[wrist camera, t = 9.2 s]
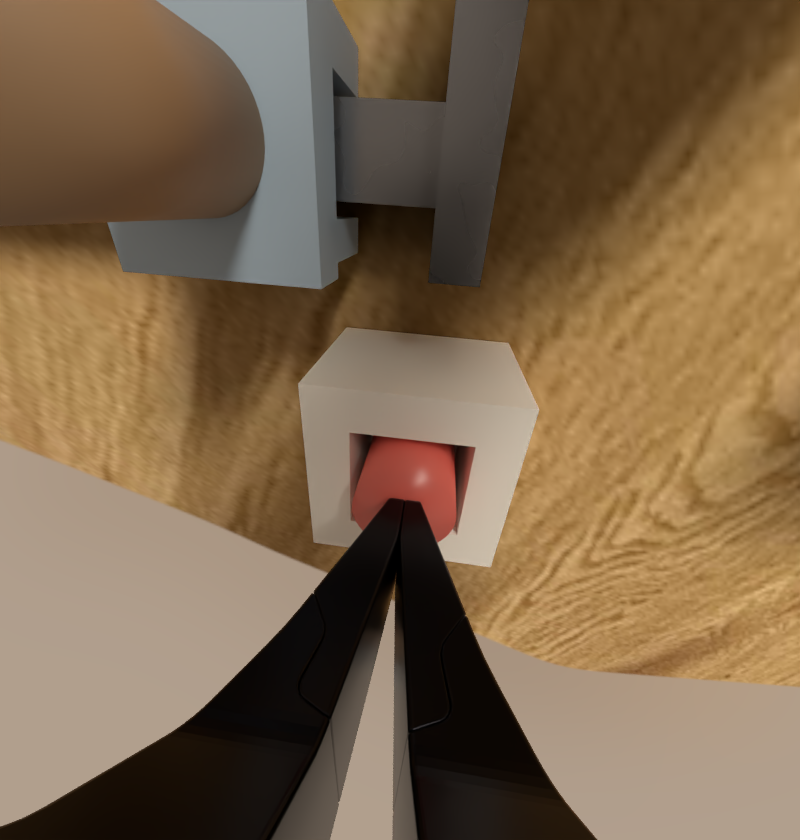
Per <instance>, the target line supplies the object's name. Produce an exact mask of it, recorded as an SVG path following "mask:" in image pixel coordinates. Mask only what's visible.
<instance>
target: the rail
mask: <svg viewBox="0 0 800 840" xmlns="http://www.w3.org/2000/svg"><path fill="white" fill-rule="evenodd" d="M528 2H529V0H456V5H455V15H454V25H453V36H452V46H451V56H450V66H449V76H448V87H447V97H446V102H435V101H416V100H396V99H377V98H358V97H339V96H333V106H334V142H335V178H336V201H341V202H355V203H368V204H382V205H396V206H410V207H424V208H436V209H435V219H434V229H433V239H432V250H431V260H430V270H429V280H428V283H437V284H449V285H460V286H472V287H480V282H481V277H482V271H483V265H484V259H485V253H486V247H487V242H488V236H489V230H490V224H491V218H492V212H493V207H494V201H495V195H496V189H497V183H498V177H499V172H500V166H501V160H502V154H503V148H504V142H505V137H506V131H507V125H508V119H509V113H510V107H511V102H512V96H513V90H514V84H515V78H516V72H517V67H518V61H519V55H520V49H521V43H522V37H523V32H524V26H525V20H526V14H527V8H528Z"/></svg>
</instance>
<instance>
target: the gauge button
mask: <svg viewBox="0 0 800 840" xmlns="http://www.w3.org/2000/svg"><path fill="white" fill-rule="evenodd" d="M389 498H398V499H403V500H404V501H406V500H414V501H420V502H421V504H422V506H423V508H424V511H425V513H426V516H427V518H428V521H429V523H430V526H431V528H432V531H433V533H434V536H435V538H436V541H437V543H438V542H440V541H441V540H443V539H444V538H445V537H446V536H447V535H448V534H449V533H450V532H451V531H452V529H453V527H454V525H455V522H456V484H455V449H454V445H452V444H444V443H435V442H427V441H418V440H410V439H401V438H393V437H384V436H376V435H374V436H373V439H372V442H371V445H370V448H369V451H368V454H367V457H366V460H365V463H364V467H363V470H362V473H361V476H360V479H359V482H358V485H357V488H356V491H355V494H354V497H353V501H352V512H353V516H354V518H355V521H356V522H357V524H358V525H359V527H360V528H361V529H362V530H364V529H365V527H366V526H367V525H368V524H369V522H370V521H371V520H372V519H373V517H374V516H375V515H376V514H377V512H378V511H379V510H380V509H381V508H382V506H383V505H384V504H385V503H386V501H387V500H388V499H389Z"/></svg>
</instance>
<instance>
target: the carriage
mask: <svg viewBox="0 0 800 840" xmlns="http://www.w3.org/2000/svg"><path fill="white" fill-rule="evenodd" d="M333 96H339V97H358V46H357V44H356V43H355V41H354V39H353V37H352V35H351V33H350V32H349V30H348V28H347V26H346V24H345V23H344V21H343V19H342V17H341V15H340V14H339V12H338V10H337V8H336V6H335V4H334V3H333V1H332V0H0V226H23V225H50V224H76V223H103V222H107V223H108V226H109V229H110V232H111V235H112V238H113V242H114V245H115V248H116V251H117V254H118V257H119V260H120V263H121V266H122V269H123V271H124V272H135V273H146V274H157V275H168V276H179V277H191V278H202V279H213V280H224V281H235V282H246V283H257V284H268V285H280V286H291V287H302V288H313V289H323V288H324V287H326V286H327V285H329V284H331V283H332V282H334V281H335V280H337V279H338V262H340V261H342V260H345V259H347V258H349V257H351V256H353V255H355V254H357V253H358V218H355V217H342V216H337V214H336V178H335V142H334V106H333Z"/></svg>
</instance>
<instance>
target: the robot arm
mask: <svg viewBox="0 0 800 840" xmlns="http://www.w3.org/2000/svg"><path fill="white" fill-rule="evenodd" d="M395 579H396V584H395ZM394 585H395V654H394V655H395V656H394V657H395V658H394V755H393V756H394V757H393V758H394V759H393V763H394V764H393V840H597V839H596V838H595V837H594V835H593V834H592V833H591V832H590V831H589V829H588V828H587V827H586V826H585V825H584V823H583V822H582V821H581V820H580V819H579V817H578V816H577V815H576V814H575V813H574V812H573V810H572V809H571V808H570V807H569V805H568V804H567V803H566V802H565V800H564V799H563V798H562V796H561V795H560V794H559V792H558V791H557V789H556V788H555V786H554V785H553V783H552V782H551V780H550V779H549V777H548V775H547V774H546V772H545V771H544V769H543V767H542V765H541V764H540V762H539V760H538V758H537V757H536V755H535V753H534V751H533V749H532V747H531V745H530V743H529V742H528V740H527V738H526V736H525V734H524V732H523V730H522V728H521V727H520V725H519V723H518V721H517V719H516V717H515V715H514V714H513V712H512V710H511V708H510V706H509V704H508V702H507V701H506V699H505V697H504V695H503V693H502V691H501V689H500V687H499V685H498V684H497V682H496V680H495V678H494V676H493V674H492V672H491V670H490V668H489V666H488V664H487V662H486V660H485V658H484V655H483V653H482V651H481V649H480V646H479V644H478V642H477V639H476V637H475V635H474V632H473V630H472V627H471V625H470V623H469V620H468V618H467V617H466V616H465V615H466V613H465V611H464V608H463V606H462V603H461V601H460V598H459V596H458V593H457V591H456V588H455V586H454V583H453V581H452V578H451V576H450V573H449V571H448V568H447V566H446V563H445V561H444V558H443V556H442V553H441V551H440V548H439V546H438V543H437V541H436V538H435V536H434V533H433V531H432V528H431V526H430V523H429V521H428V518H427V516H426V513H425V511H424V508H423V506H422V504H421V502H420V501H414V500H406V501H404V500H403V499H398V498H389V499H388V500H387V501H386V503H385V504H384V505H383V506H382V508H381V509H380V510H379V511H378V512H377V514H376V515H375V516H374V517H373V519H372V520H371V521H370V522H369V524H368V525H367V526H366V527H365V529H364V530H363V531H362V532H361V533H360V535H359V536H358V537H357V538H356V540H355V541H354V542H353V543H352V545H351V546H350V547H349V548H348V550H347V551H346V552H345V553H344V554H343V556H342V557H341V558H340V559H339V561H338V562H337V563H336V564H335V566H334V567H333V568H332V569H331V571H330V572H329V573H328V574H327V575H326V577H325V578H324V579H323V580H322V582H321V583H320V584H319V585H318V587H317V588H316V589H315V590H314V594H311V595H310V596H309V598H308V599H307V600H306V601H305V602H304V604H303V605H302V606H301V608H300V609H299V610H298V611H297V612H296V613H295V614H294V615H293V617H292V618H291V619H290V620H289V621H288V623H287V624H286V625H285V626H284V627H283V628H282V629H281V630H280V631H279V632H278V633H277V634H276V635H275V636H274V637H273V639H272V640H271V641H270V642H269V643H268V644H267V645H266V646H265V647H264V648H263V649H262V650H261V651H260V652H259V653H258V654H257V655H256V656H255V657H254V658H253V659H252V660H251V661H250V662H249V663H248V664H247V665H246V666H245V667H244V668H243V669H242V670H241V671H240V672H239V673H238V674H237V675H236V676H235V677H234V678H233V679H232V680H231V681H230V682H229V683H228V684H227V685H226V686H225V687H224V688H223V689H222V690H221V691H220V692H219V693H218V694H217V695H216V696H215V697H214V698H213V699H212V700H211V701H210V702H209V703H208V704H206V705H205V707H204V708H202V709H201V710H200V711H199V712H198V713H196V714H195V715H194V716H193V717H192V718H190V719H189V720H188V721H186V722H185V723H184V724H183V725H181V726H180V727H178V728H177V729H175V730H174V731H172V732H171V733H169V734H168V735H166V736H165V737H163V738H161V739H159V740H158V741H156V742H154V743H153V744H151V745H149V746H147V747H146V748H144V749H142V750H141V751H139V752H137V753H135V754H134V755H132V756H130V757H129V758H127V759H125V760H124V761H122V762H120V763H118V764H117V765H115V766H113V767H112V768H110V769H108V770H107V771H105V772H103V773H101V774H100V775H98V776H96V777H95V778H93V779H91V780H89V781H88V782H86V783H84V784H83V785H81V786H79V787H78V788H76V789H74V790H72V791H71V792H69V793H67V794H66V795H64V796H62V797H61V798H59V799H57V800H56V801H54V802H52V803H50V804H49V805H47V806H45V807H43V808H41V809H40V810H38V811H36V812H34V813H32V814H30V815H28V816H26V817H24V818H22V819H19V820H17V821H14V822H12V823H9V824H7V825H4V826H1V827H0V840H330V837H331V833H332V829H333V825H334V821H335V817H336V814H337V810H338V805H339V804H338V802H339V801H340V797H341V794H342V790H343V786H344V782H345V778H346V774H347V770H348V766H349V762H350V758H351V754H352V751H353V746H354V743H355V739H356V735H357V731H358V727H359V723H360V719H361V715H362V711H363V707H364V703H365V699H366V696H367V692H368V688H369V684H370V680H371V676H372V672H373V668H374V664H375V660H376V656H377V652H378V648H379V644H380V641H381V637H382V633H383V629H384V625H385V621H386V617H387V613H388V609H389V605H390V601H391V598H392V594H393V589H394Z"/></svg>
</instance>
